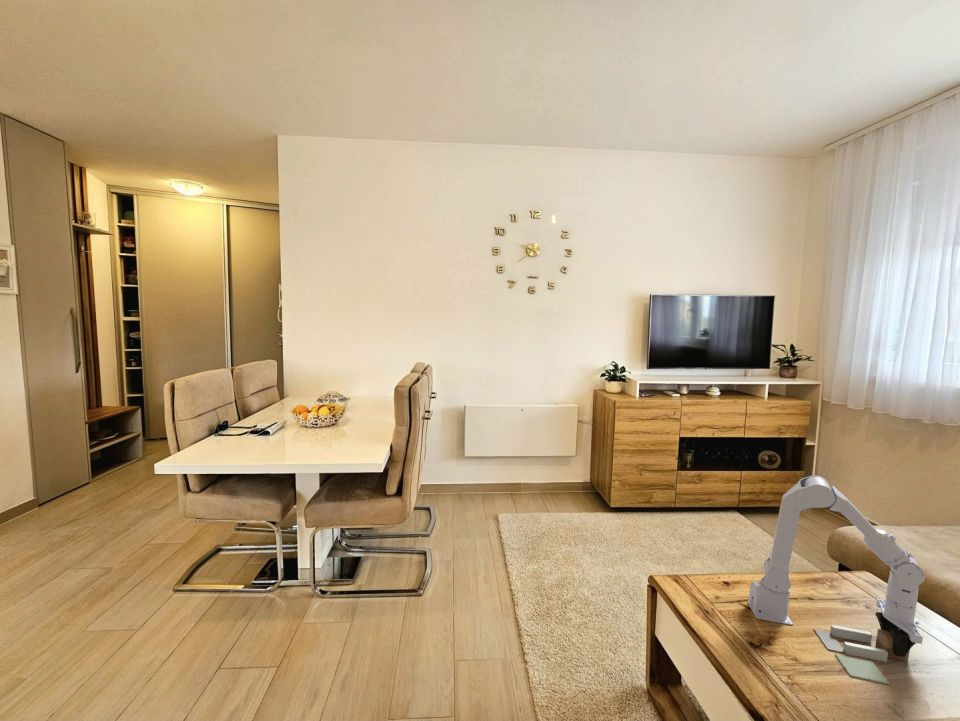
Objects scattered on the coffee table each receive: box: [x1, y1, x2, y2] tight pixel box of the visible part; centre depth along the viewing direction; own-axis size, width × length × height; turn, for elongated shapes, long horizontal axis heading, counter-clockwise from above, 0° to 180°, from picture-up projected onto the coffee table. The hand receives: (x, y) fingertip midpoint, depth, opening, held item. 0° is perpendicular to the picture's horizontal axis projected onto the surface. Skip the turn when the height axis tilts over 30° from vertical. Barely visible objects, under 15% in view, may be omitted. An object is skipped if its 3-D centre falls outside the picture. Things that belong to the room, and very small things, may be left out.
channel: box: [813, 624, 888, 663], centre depth 117 cm, size 13×8×2 cm, turn 75°
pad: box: [834, 653, 890, 686], centre depth 109 cm, size 8×7×1 cm
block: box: [875, 628, 911, 663], centre depth 115 cm, size 5×4×5 cm
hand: (893, 649), depth 115 cm, fingers closed on block, 4 cm apart
